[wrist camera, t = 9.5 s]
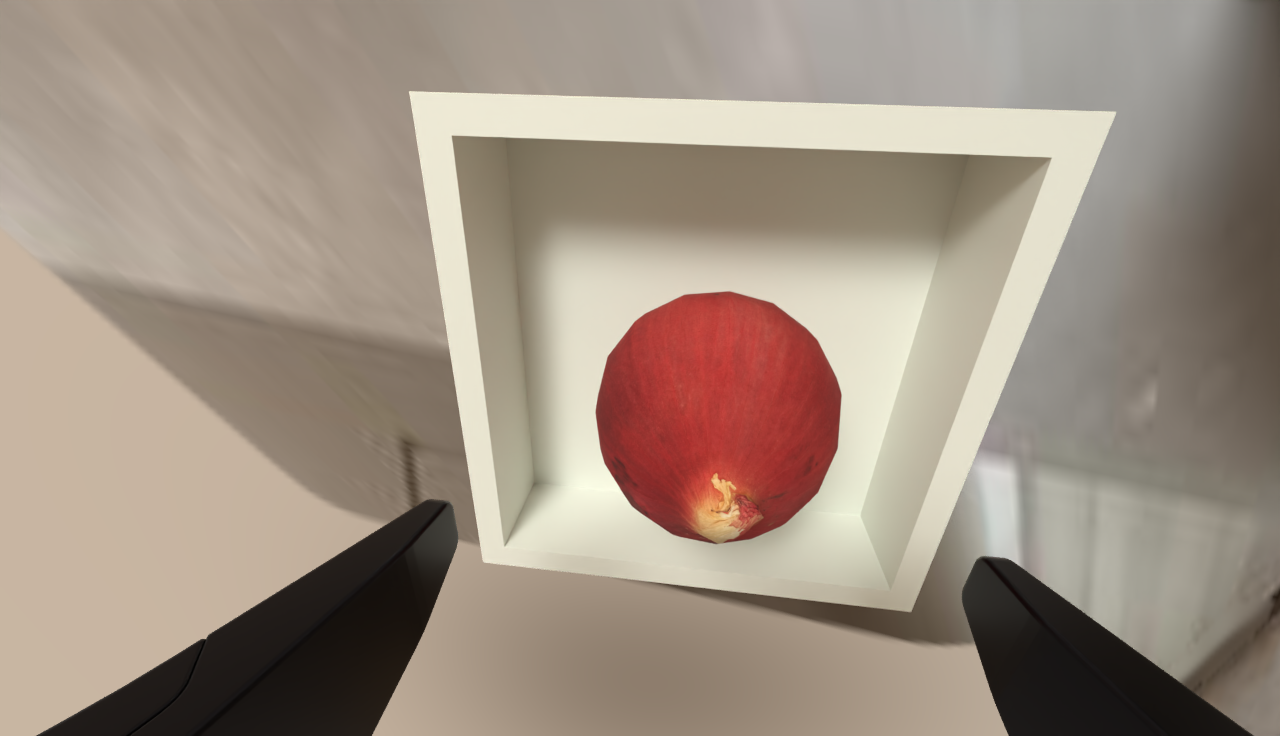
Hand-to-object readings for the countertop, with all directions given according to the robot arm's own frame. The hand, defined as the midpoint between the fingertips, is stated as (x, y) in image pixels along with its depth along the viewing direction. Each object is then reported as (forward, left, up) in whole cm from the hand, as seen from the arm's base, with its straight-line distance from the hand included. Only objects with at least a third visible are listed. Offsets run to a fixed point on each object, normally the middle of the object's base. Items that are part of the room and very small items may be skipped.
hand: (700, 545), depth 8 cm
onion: (0, 0, -8) cm, 8 cm away
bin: (0, 0, -9) cm, 9 cm away
